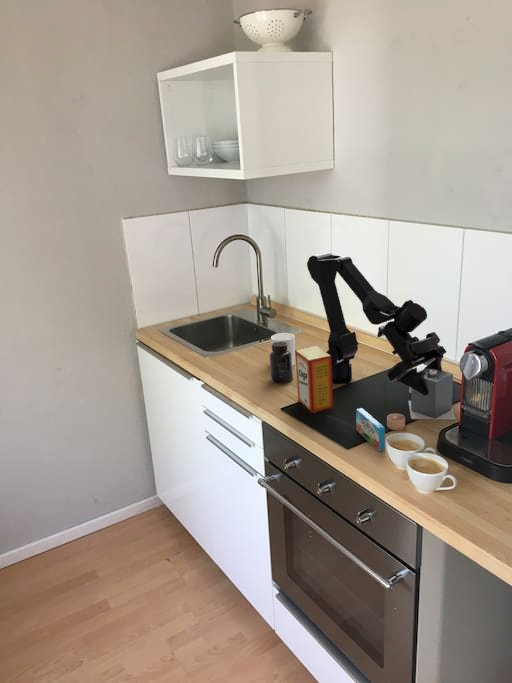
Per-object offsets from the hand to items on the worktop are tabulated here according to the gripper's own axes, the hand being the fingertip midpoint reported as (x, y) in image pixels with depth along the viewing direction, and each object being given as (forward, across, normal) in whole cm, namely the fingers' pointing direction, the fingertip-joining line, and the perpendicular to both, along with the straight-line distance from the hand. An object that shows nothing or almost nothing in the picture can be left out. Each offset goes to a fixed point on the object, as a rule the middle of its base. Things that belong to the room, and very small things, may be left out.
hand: (435, 390), depth 149 cm
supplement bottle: (-29, -12, +39) cm, 50 cm away
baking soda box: (-14, -17, +24) cm, 33 cm away
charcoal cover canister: (+3, 0, +5) cm, 6 cm away
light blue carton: (+3, -22, +7) cm, 23 cm away
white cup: (-36, -2, +46) cm, 58 cm away
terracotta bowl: (+3, -13, +6) cm, 15 cm away
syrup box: (-8, +14, +14) cm, 22 cm away
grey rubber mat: (+4, 0, +6) cm, 7 cm away
